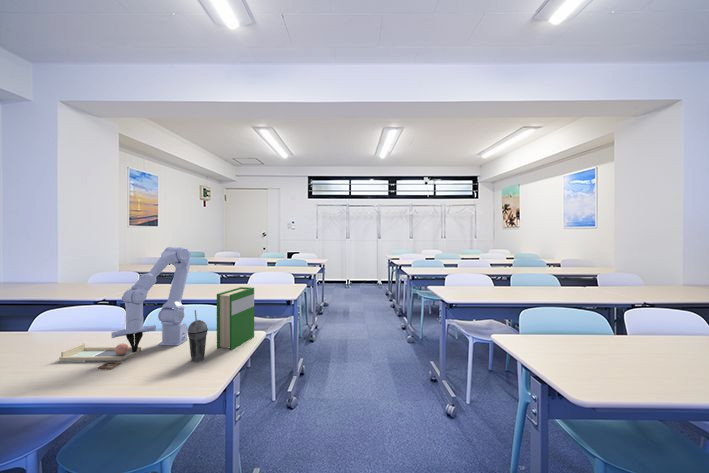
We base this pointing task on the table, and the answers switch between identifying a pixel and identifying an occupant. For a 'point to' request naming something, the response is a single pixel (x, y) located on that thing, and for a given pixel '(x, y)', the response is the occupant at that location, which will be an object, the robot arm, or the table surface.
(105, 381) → the table surface
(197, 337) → the beverage cup
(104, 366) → the open wooden square ring
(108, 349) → the tray
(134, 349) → the robot arm
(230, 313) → the hardback book
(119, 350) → the ball
